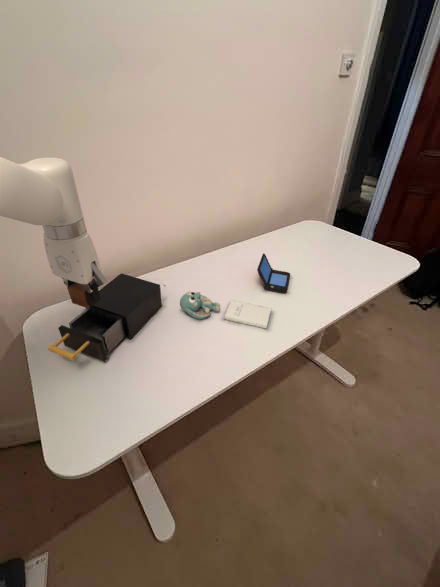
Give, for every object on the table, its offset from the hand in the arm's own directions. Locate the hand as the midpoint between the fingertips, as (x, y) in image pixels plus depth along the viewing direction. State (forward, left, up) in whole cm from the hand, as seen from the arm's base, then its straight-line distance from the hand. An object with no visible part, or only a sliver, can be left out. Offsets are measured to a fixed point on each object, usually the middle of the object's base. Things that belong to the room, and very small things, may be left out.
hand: (86, 299), depth 70 cm
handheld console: (+48, -34, -15) cm, 61 cm away
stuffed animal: (+23, -18, -15) cm, 33 cm away
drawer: (-1, 0, -14) cm, 14 cm away
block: (0, 0, 0) cm, 0 cm away
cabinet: (+12, 0, -15) cm, 19 cm away
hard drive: (+27, -32, -15) cm, 45 cm away
